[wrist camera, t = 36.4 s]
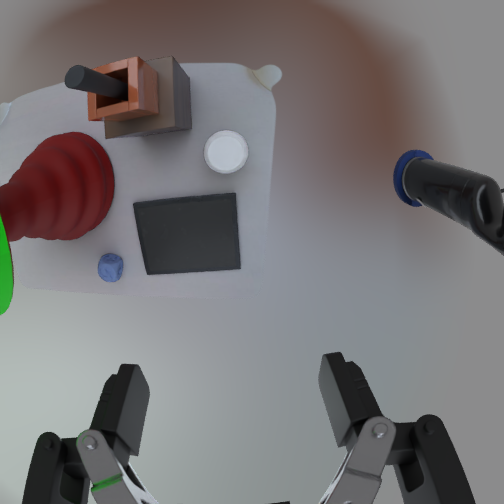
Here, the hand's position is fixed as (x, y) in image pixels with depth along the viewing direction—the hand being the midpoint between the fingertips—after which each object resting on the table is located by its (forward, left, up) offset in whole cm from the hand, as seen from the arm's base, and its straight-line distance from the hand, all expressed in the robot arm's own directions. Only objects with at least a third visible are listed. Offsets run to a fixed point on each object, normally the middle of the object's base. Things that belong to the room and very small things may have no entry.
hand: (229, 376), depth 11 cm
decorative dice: (+24, +12, -38) cm, 47 cm away
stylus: (+10, -15, -24) cm, 30 cm away
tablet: (+8, +8, -38) cm, 40 cm away
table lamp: (+30, -5, -38) cm, 49 cm away
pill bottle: (0, -7, -38) cm, 39 cm away
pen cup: (+10, -15, -24) cm, 30 cm away
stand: (+10, -15, -38) cm, 42 cm away
